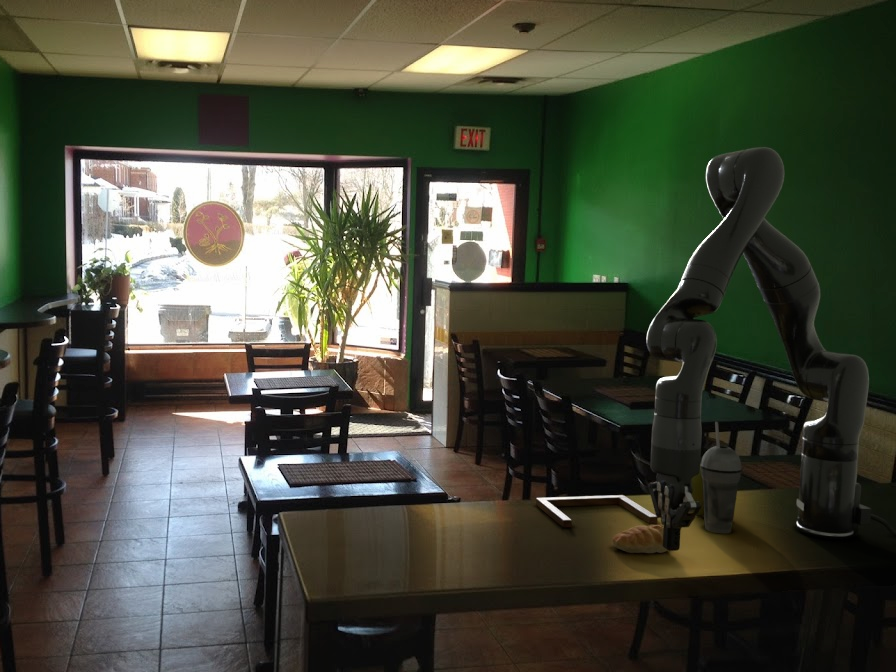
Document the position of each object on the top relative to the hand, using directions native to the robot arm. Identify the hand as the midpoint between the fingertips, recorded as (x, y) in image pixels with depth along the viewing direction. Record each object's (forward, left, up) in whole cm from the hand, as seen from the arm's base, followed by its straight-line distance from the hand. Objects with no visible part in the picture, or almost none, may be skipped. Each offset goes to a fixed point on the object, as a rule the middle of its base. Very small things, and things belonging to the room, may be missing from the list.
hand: (670, 549), depth 143 cm
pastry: (0, -10, -3) cm, 10 cm away
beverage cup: (-19, -18, -3) cm, 26 cm away
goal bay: (0, -29, -3) cm, 29 cm away
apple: (-22, -27, -3) cm, 35 cm away
